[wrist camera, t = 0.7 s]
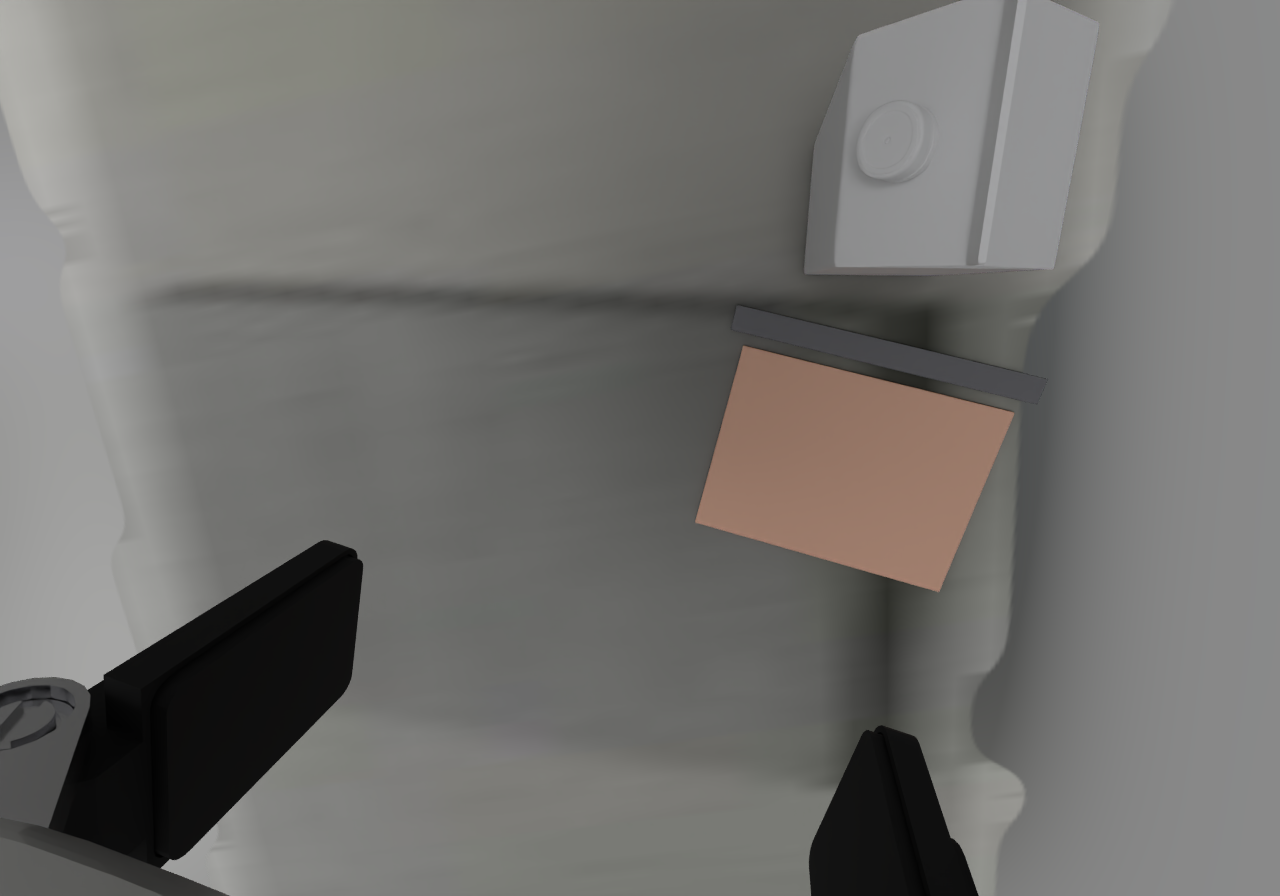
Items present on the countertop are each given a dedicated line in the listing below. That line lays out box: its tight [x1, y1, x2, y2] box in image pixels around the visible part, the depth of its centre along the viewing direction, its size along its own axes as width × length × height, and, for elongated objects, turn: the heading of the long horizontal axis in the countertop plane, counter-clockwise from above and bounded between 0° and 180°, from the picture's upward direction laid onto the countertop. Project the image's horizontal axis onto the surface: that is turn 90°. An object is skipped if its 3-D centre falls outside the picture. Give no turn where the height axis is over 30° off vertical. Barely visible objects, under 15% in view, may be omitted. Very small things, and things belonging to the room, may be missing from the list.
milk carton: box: [804, 0, 1099, 276], centre depth 25 cm, size 7×7×19 cm
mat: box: [695, 345, 1014, 592], centre depth 38 cm, size 12×16×1 cm
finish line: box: [731, 305, 1048, 404], centre depth 36 cm, size 2×18×1 cm, turn 77°
